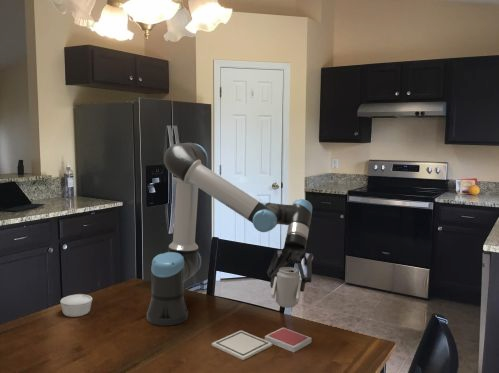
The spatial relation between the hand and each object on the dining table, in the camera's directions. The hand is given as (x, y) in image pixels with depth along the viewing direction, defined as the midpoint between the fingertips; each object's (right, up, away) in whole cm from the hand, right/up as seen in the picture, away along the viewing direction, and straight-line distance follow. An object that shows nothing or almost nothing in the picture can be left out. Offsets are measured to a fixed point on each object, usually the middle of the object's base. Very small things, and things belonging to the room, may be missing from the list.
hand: (285, 298), depth 149 cm
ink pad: (+1, -16, +5) cm, 17 cm away
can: (+1, -3, +4) cm, 5 cm away
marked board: (-14, -16, +2) cm, 21 cm away
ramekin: (-77, -12, +25) cm, 82 cm away
